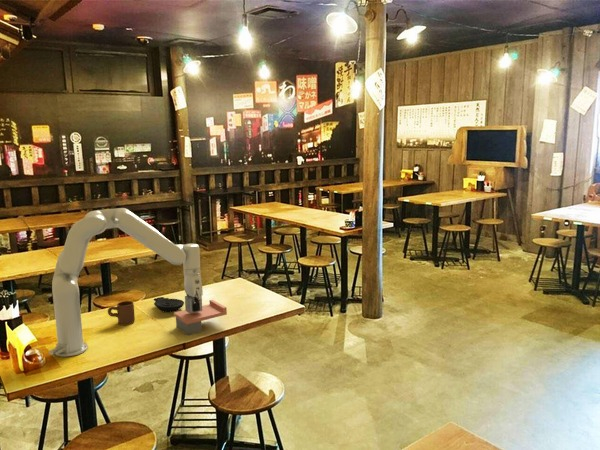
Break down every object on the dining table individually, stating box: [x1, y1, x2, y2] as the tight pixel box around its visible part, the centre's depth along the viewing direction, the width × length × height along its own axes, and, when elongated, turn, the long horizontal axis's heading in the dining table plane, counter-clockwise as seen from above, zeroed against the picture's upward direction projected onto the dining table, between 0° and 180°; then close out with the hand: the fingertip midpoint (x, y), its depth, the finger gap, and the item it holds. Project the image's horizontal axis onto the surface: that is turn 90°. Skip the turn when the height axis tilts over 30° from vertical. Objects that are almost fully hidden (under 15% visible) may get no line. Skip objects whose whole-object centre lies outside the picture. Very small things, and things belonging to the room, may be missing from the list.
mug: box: [107, 300, 136, 326], centre depth 235 cm, size 12×8×9 cm, turn 125°
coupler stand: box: [173, 299, 228, 336], centre depth 231 cm, size 20×14×9 cm
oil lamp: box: [153, 296, 185, 314], centre depth 254 cm, size 15×20×5 cm
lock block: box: [184, 295, 203, 314], centre depth 228 cm, size 6×5×7 cm
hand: (193, 308), depth 228 cm, fingers closed on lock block, 5 cm apart
